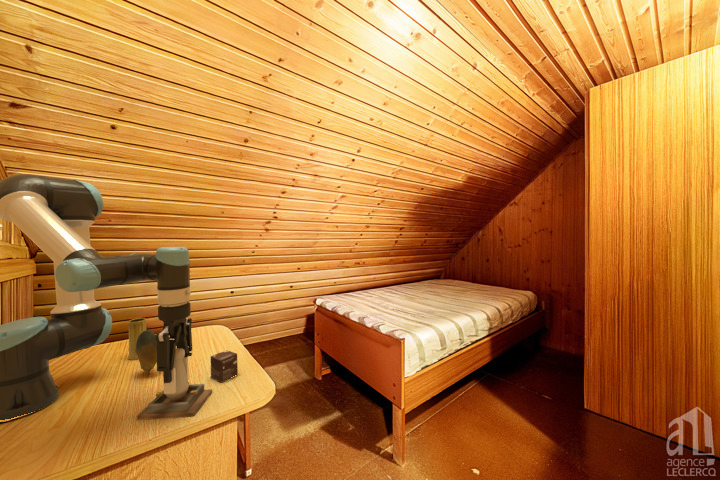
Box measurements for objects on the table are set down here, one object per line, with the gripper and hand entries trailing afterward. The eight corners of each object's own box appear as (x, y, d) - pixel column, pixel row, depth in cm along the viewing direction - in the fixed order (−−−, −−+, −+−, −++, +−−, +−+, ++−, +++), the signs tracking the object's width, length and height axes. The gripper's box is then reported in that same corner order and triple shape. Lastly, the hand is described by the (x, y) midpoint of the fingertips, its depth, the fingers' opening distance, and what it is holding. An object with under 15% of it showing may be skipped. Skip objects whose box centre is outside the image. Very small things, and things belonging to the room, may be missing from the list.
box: (221, 383, 91) (220, 360, 91) (210, 378, 95) (209, 356, 94) (238, 375, 97) (237, 353, 96) (227, 370, 100) (226, 349, 99)
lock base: (137, 419, 74) (136, 405, 74) (162, 395, 85) (162, 383, 85) (194, 416, 75) (193, 402, 75) (212, 392, 86) (211, 380, 86)
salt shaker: (194, 391, 82) (193, 346, 82) (177, 403, 77) (176, 355, 76) (176, 389, 83) (175, 345, 83) (159, 401, 78) (157, 353, 77)
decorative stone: (130, 375, 97) (129, 331, 96) (150, 367, 102) (148, 325, 102) (147, 381, 93) (146, 335, 92) (167, 373, 98) (166, 329, 98)
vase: (151, 355, 112) (150, 319, 112) (132, 361, 107) (131, 323, 107) (144, 351, 115) (143, 316, 115) (125, 357, 110) (124, 320, 110)
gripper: (169, 312, 70) (171, 406, 71) (204, 295, 89) (206, 369, 90) (136, 313, 69) (139, 407, 70) (178, 295, 88) (180, 370, 89)
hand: (176, 386), depth 80 cm, fingers closed on salt shaker, 6 cm apart
